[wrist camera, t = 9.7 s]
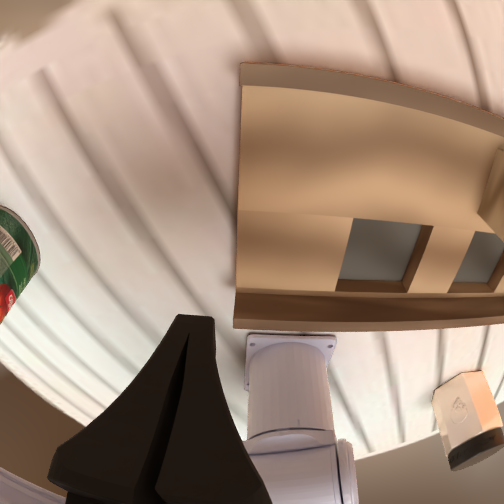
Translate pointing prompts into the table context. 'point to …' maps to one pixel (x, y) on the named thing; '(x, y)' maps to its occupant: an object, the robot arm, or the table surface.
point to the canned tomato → (15, 258)
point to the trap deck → (362, 205)
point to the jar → (467, 420)
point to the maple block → (494, 197)
